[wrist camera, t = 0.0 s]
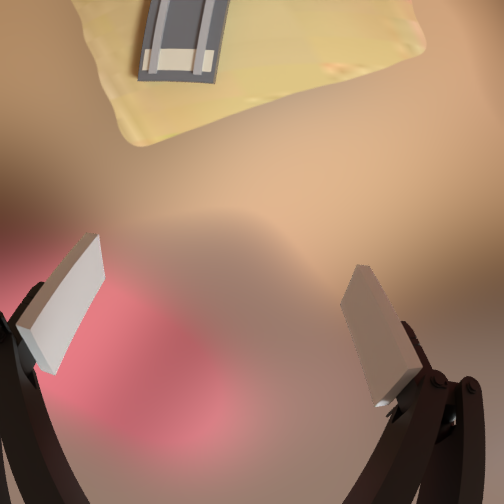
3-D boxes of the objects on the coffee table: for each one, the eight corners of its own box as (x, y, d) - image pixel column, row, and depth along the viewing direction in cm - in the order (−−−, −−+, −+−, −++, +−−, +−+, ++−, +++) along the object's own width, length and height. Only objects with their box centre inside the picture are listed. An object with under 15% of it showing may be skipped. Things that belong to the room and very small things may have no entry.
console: (168, -43, 21) (163, -50, 18) (239, -43, 22) (239, -51, 19) (143, 81, 31) (136, 81, 29) (215, 84, 32) (212, 83, 30)
